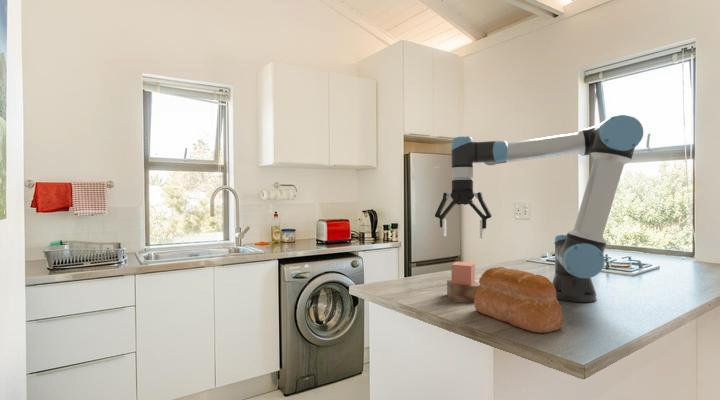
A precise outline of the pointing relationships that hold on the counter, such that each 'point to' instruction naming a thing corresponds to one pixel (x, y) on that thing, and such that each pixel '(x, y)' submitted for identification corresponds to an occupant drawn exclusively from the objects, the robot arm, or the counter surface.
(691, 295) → the counter surface
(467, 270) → the pink cube
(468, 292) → the walnut plinth
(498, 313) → the bread
